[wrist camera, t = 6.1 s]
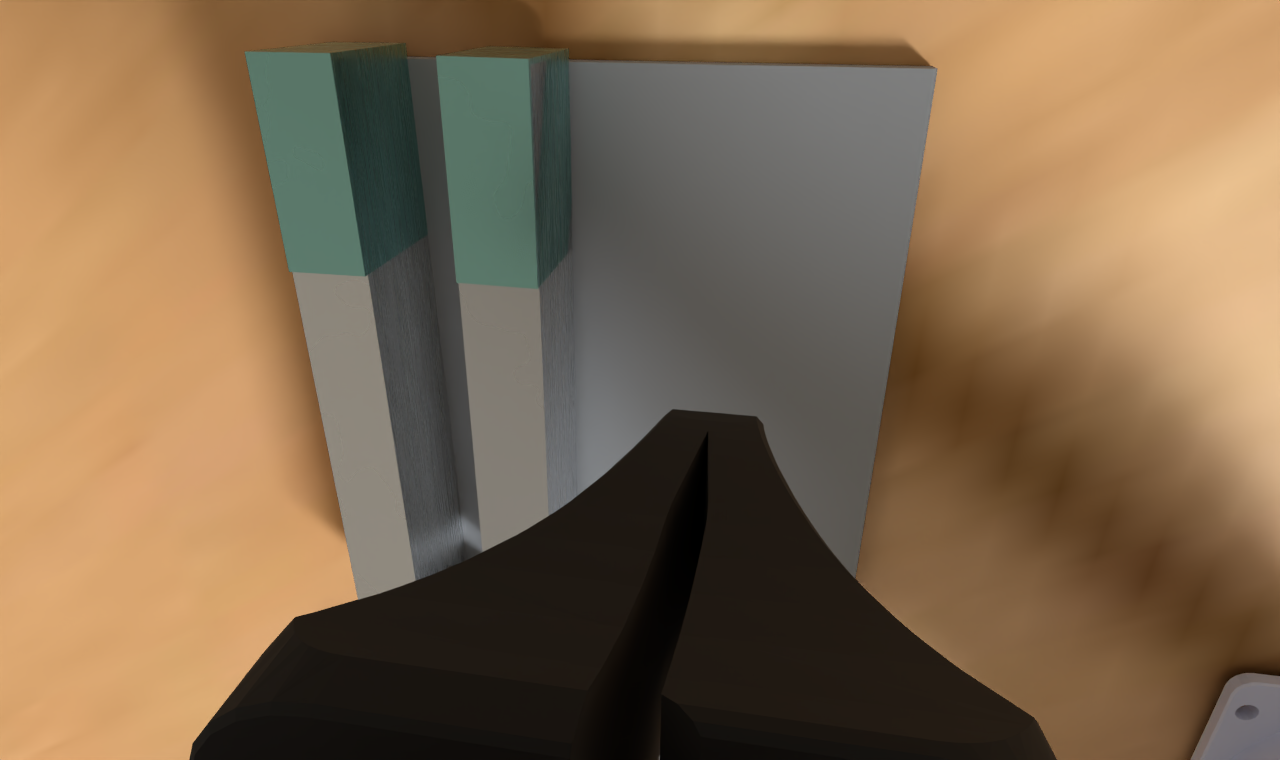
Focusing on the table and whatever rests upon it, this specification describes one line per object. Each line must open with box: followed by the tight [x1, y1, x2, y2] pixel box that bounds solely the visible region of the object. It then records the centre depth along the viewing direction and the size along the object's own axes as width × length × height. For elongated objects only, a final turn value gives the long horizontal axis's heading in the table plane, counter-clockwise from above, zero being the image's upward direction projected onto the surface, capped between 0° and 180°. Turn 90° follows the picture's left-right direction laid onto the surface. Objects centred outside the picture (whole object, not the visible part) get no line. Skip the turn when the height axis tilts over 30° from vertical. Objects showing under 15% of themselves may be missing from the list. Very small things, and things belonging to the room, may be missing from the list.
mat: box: [407, 57, 937, 760], centre depth 21 cm, size 22×13×1 cm, turn 0°
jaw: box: [436, 46, 578, 552], centre depth 17 cm, size 13×2×3 cm, turn 179°
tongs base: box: [245, 42, 466, 600], centre depth 19 cm, size 22×5×4 cm, turn 0°
